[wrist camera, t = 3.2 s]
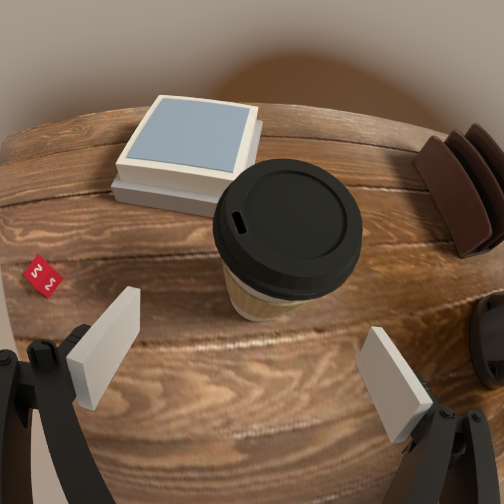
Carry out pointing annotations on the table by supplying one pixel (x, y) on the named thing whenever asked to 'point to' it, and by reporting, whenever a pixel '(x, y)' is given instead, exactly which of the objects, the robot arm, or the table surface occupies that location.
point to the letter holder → (466, 187)
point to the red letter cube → (42, 276)
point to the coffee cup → (285, 237)
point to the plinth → (187, 154)
